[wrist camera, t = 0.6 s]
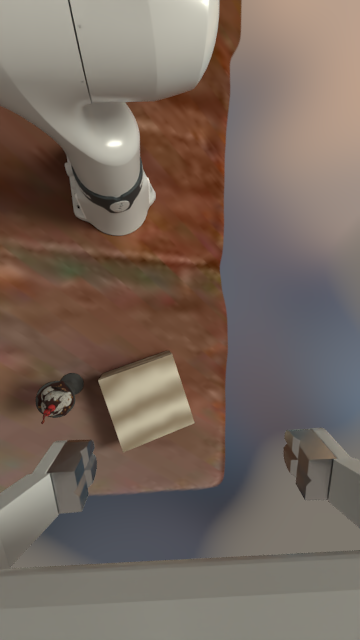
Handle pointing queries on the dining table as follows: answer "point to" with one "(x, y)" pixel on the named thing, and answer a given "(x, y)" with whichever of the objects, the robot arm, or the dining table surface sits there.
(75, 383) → the sundae
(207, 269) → the dining table surface
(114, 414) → the cream block
